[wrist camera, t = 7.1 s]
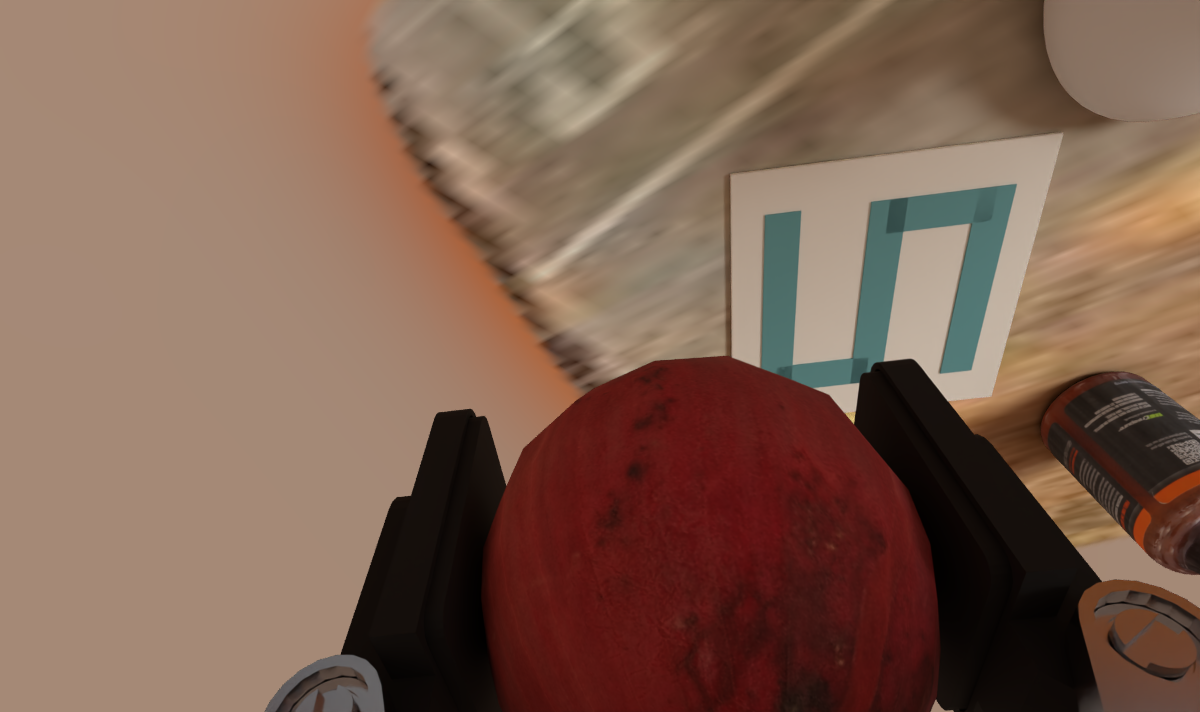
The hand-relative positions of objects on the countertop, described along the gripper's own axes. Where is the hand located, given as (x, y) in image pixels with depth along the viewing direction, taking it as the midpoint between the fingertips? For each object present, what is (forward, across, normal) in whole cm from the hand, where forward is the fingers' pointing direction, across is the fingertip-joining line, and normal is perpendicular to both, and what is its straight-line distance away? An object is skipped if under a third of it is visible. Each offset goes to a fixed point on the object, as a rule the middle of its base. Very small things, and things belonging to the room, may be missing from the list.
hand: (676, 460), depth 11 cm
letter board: (+19, -12, +9) cm, 24 cm away
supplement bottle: (+20, -25, +18) cm, 36 cm away
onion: (+2, 0, 0) cm, 2 cm away
